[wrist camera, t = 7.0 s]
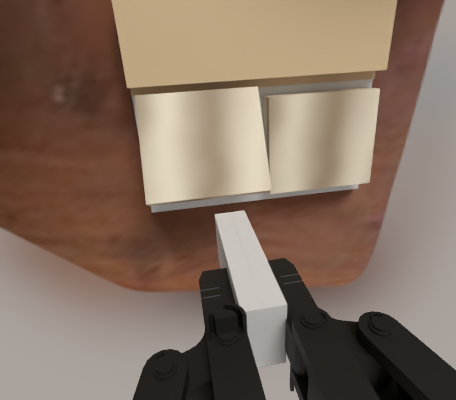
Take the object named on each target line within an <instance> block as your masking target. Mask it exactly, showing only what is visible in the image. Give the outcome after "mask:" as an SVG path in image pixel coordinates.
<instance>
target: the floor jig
mask: <svg viewBox="0 0 456 400" xmlns="http://www.w3.org/2000/svg"><path fill="white" fill-rule="evenodd" d="M112 5H113V11H114V16H115V22H116V28H117V33H118V39H119V45H120V50H121V56H122V62H123V67H124V73H125V79H126V84H127V88H130V91H131V97H132V100H133V106H134V112H135V118H136V124H137V114H136V105H135V96H134V95H147V94H161V93H175V92H188V91H202V90H215V89H229V88H243V87H256V86H258V91H259V99H260V106H261V114H262V121H263V96H265V95H278V94H291V93H304V92H317V91H330V90H343V89H356V88H371V87H372V80H373V79H374V77H375V71H377V70H387V65H388V58H389V52H390V45H391V38H392V32H393V25H394V18H395V12H396V5H397V0H112ZM137 129H138V124H137ZM263 129H264V127H263ZM138 135H139V133H138ZM357 188H358V184H354V185H345V186H336V187H328V188H319V189H310V190H302V191H293V192H284V193H276V194H269V192H267V193H259V194H251V195H242V196H233V197H225V198H216V199H207V200H199V201H190V202H181V203H172V204H164V205H155V206H151V211H152V213H153V212H161V211H170V210H178V209H187V208H195V207H204V206H212V205H221V204H229V203H238V202H246V201H255V200H264V199H272V198H281V197H289V196H298V195H306V194H315V193H323V192H332V191H340V190H349V189H357Z"/></svg>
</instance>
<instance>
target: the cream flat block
mask: <svg viewBox="0 0 456 400" xmlns="http://www.w3.org/2000/svg"><path fill="white" fill-rule="evenodd" d="M134 96H135V105H136V114H137V124H138V133H139V143H140V152H141V161H142V171H143V180H144V189H145V199H146V205H148V206H155V205H164V204H172V203H181V202H190V201H199V200H207V199H216V198H225V197H233V196H242V195H251V194H259V193H267V192H269V191H271V190H272V188H271V181H270V173H269V166H268V158H267V151H266V144H265V136H264V129H263V121H262V114H261V106H260V99H259V91H258V86H256V87H243V88H229V89H215V90H202V91H188V92H175V93H161V94H147V95H134Z"/></svg>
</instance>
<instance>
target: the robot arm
mask: <svg viewBox="0 0 456 400" xmlns="http://www.w3.org/2000/svg"><path fill="white" fill-rule="evenodd" d="M215 225H216V236H217V247H218V258H219V263H220V268H221V269H216V270H209V271H203V272H202V275H201V277H200V279H199V285H200V292H201V300H202V308H203V315H204V323H205V333H204V336H203V338H202V340H201V341H200V342H199V343H198V344H197V345H196V346H195V347H193V348H191V349H190V350H188V351H186V352H184V353H180V352H179V351H177V350H172V349H169V350H162V351H160V352H158V353H156V354H154V355H153V356H152V357H150V359H148V360H147V362H146V364H145V366H144V368H143V370H142V373H141V376H140V379H139V382H138V385H137V388H136V391H135V394H134V397H133V400H266V398H265V394H264V391H263V387H262V384H261V380H260V376H259V373H258V369H257V368H259V367H264V366H269V365H275V364H280V363H285V362H286V353H287V356H288V358H289V361H290V364H291V365H290V390H291V391H294V386H295V389H296V392H297V394H298V397H299V400H456V370H455V369H453V368H452V367H451V366H450V365H448V363H446V362H445V361H444V360H443V359H442V358H440V357H439V356H438V355H437V354H436V353H435V352H433V351H432V350H431V349H430V348H429V347H427V346H426V345H425V344H424V343H423V342H421V341H420V340H419V339H418V338H417V337H415V336H414V335H413V334H412V333H411V332H409V331H408V330H407V329H406V328H405V327H404V326H402V325H401V324H400V323H399V322H398V321H397V320H395V319H394V318H392V317H390V316H389V315H387V314H384V313H381V312H367V313H364V314H363V315H362V316H360V318H359V321H358V322H352V321H342V320H336V319H333V318H331V317H330V316H329V315H328V313H327V312H325V311H324V310H322V309H320V308H318V307H317V305H316V304H315V302H314V300H313V298H312V297H311V295H310V293H309V291H308V289H307V288H306V286H305V284H304V282H302V279H301V277H300V275H298V272H297V270H296V268H295V266H294V265H293V264H292V263H291V262H289V261H288V260H287V259H285V258H282V259H275V260H269V261H267V259H266V257H265V255H264V252H263V250H262V248H261V246H260V244H259V241H258V239H257V237H256V235H255V233H254V230H253V228H252V226H251V224H250V222H249V220H248V217H247V215H246V213H245V211H244V210H243V211H236V212H228V213H221V214H215Z"/></svg>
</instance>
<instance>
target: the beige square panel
mask: <svg viewBox="0 0 456 400" xmlns="http://www.w3.org/2000/svg"><path fill="white" fill-rule="evenodd" d="M379 94H380V89H378V88H356V89H343V90H330V91H317V92H304V93H291V94H278V95H265V96H263V127H264V136H265V144H266V151H267V158H268V166H269V173H270V181H271V188H272V190H271V191H269V194H276V193H284V192H293V191H302V190H310V189H319V188H328V187H336V186H345V185H354V184H362V183H370V174H371V165H372V156H373V147H374V139H375V130H376V121H377V112H378V103H379Z"/></svg>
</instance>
